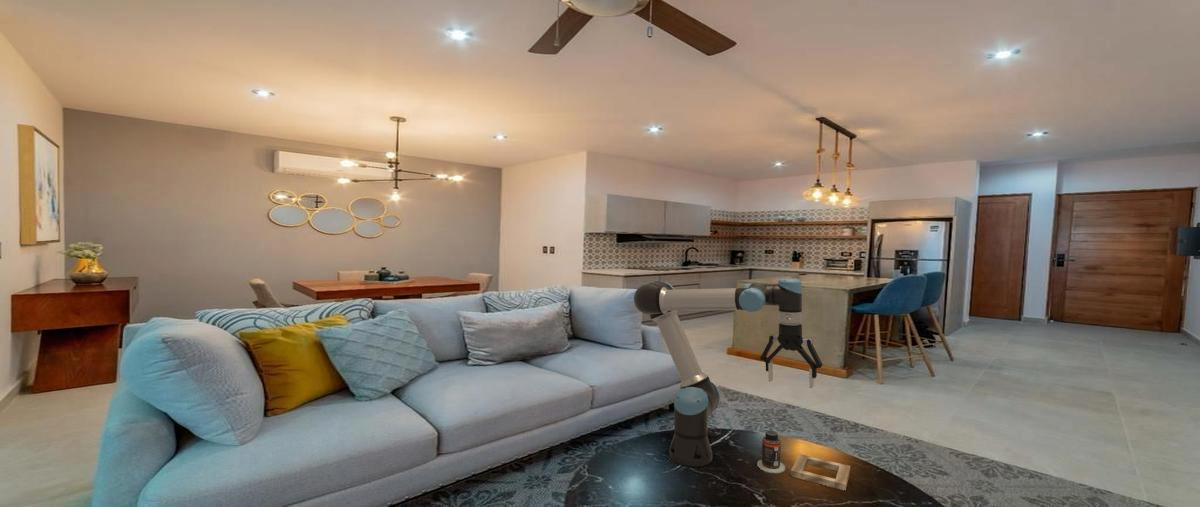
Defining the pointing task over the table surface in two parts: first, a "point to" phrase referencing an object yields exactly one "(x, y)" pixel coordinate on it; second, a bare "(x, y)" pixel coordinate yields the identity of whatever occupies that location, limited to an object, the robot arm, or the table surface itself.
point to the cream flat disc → (770, 470)
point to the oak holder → (835, 483)
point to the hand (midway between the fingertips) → (790, 383)
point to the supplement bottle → (771, 450)
